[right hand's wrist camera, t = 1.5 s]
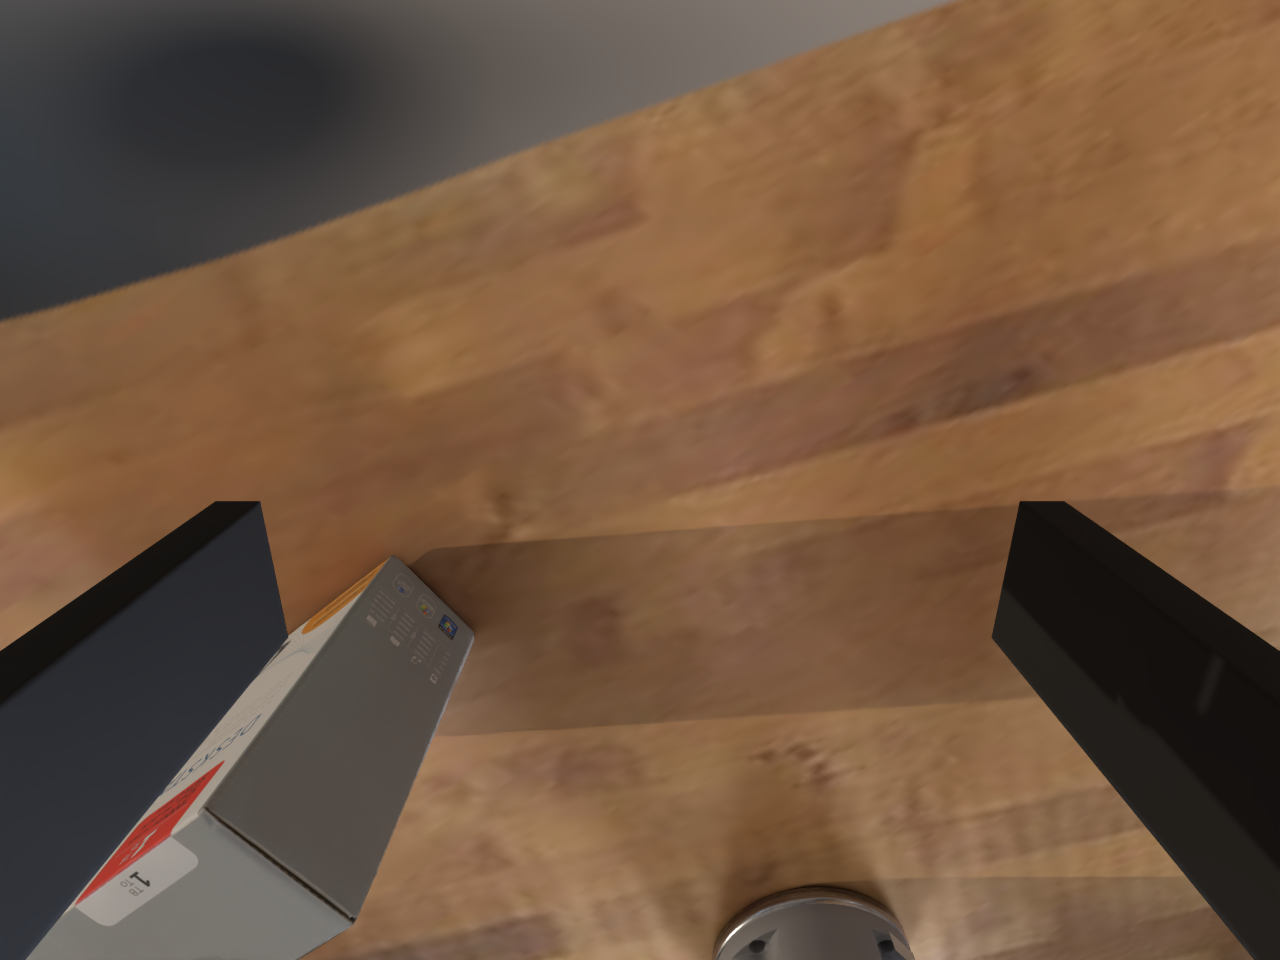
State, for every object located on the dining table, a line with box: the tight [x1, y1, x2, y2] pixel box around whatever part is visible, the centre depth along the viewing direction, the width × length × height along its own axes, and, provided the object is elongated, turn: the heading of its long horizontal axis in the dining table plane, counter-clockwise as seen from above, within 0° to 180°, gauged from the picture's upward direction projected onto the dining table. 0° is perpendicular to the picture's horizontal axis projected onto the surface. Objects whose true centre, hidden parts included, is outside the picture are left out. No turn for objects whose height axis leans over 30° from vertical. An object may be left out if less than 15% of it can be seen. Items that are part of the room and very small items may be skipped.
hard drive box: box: [26, 556, 475, 960], centre depth 37 cm, size 16×8×20 cm, turn 128°
